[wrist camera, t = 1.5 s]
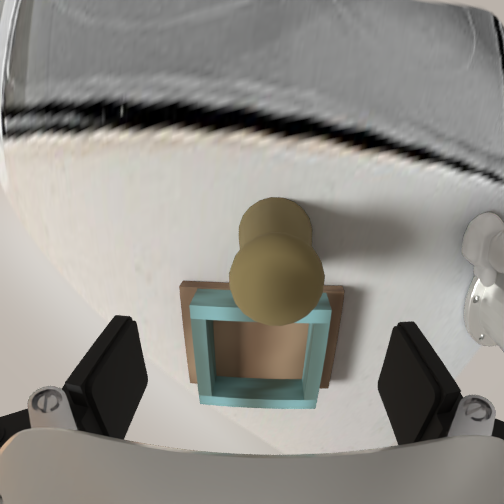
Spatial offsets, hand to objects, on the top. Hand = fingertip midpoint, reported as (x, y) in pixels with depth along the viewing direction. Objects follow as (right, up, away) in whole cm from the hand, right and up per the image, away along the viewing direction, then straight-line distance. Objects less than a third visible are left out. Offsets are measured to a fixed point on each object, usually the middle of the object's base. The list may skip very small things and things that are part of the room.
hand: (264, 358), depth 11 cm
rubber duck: (+21, +5, +15) cm, 26 cm away
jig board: (0, -4, +19) cm, 19 cm away
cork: (+1, +5, +16) cm, 17 cm away
